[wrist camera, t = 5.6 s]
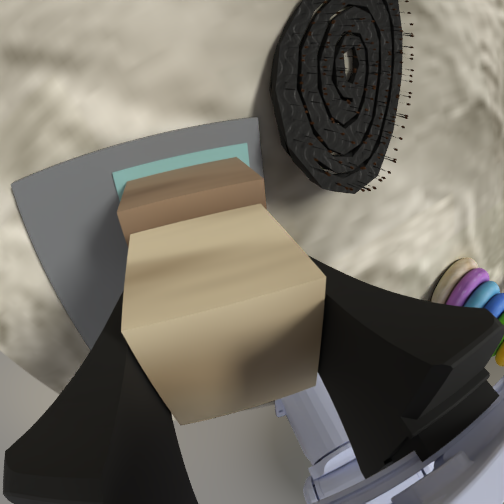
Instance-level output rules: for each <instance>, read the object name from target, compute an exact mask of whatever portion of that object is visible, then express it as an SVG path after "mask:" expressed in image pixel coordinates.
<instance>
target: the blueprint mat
mask: <svg viewBox="0 0 504 504" xmlns="http://www.w3.org/2000/svg"><path fill="white" fill-rule="evenodd" d="M233 157H237V158H239V159H240V160H241V161H242V162H244V163H245V164H246V165H247V166H249V167H250V168H251V169H252V170H254V171H255V172H256V173H257V174H259V175H260V176H261V177H262V178H264V176H263V165H262V154H261V144H260V133H259V123H258V117H249V118H242V119H235V120H228V121H222V122H215V123H210V124H204V125H198V126H193V127H188V128H183V129H178V130H173V131H169V132H164V133H160V134H156V135H152V136H148V137H144V138H140V139H136V140H132V141H128V142H125V143H121V144H117V145H114V146H111V147H107V148H104V149H101V150H97V151H94V152H91V153H88V154H85V155H82V156H79V157H76V158H73V159H70V160H67V161H65V162H62V163H59V164H56V165H54V166H51V167H49V168H46V169H43V170H41V171H38V172H36V173H33V174H31V175H29V176H26V177H24V178H22V179H19V180H17V181H15V182H13V183H12V184H11V187H12V190H13V193H14V196H15V199H16V202H17V205H18V208H19V211H20V213H21V216H22V219H23V221H24V224H25V227H26V229H27V232H28V234H29V236H30V239H31V241H32V244H33V246H34V248H35V250H36V253H37V255H38V257H39V259H40V261H41V264H42V266H43V268H44V270H45V272H46V274H47V276H48V278H49V280H50V282H51V284H52V286H53V288H54V290H55V292H56V293H57V295H58V297H59V299H60V301H61V303H62V304H63V306H64V308H65V310H66V311H67V313H68V315H69V317H70V318H71V320H72V322H73V323H74V325H75V327H76V328H77V330H78V332H79V333H80V335H81V336H82V338H83V339H84V341H85V343H86V344H87V346H88V347H89V349H90V350H91V349H92V348H93V346H94V344H95V342H96V341H97V339H98V337H99V335H100V334H101V332H102V330H103V328H104V326H105V324H106V323H107V321H108V319H109V317H110V315H111V313H112V311H113V309H114V307H115V305H116V303H117V302H118V300H119V298H120V296H121V294H122V292H123V290H124V283H125V273H126V264H127V256H128V246H127V243H126V240H125V237H124V234H123V231H122V228H121V225H120V222H119V218H118V215H117V210H118V207H119V204H120V201H121V198H122V195H123V192H124V189H125V186H126V183H127V181H131V180H134V179H138V178H142V177H146V176H150V175H154V174H158V173H162V172H166V171H170V170H175V169H179V168H183V167H188V166H193V165H197V164H202V163H207V162H212V161H217V160H222V159H228V158H233Z"/></svg>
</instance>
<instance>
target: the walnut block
mask: <svg viewBox="0 0 504 504" xmlns="http://www.w3.org/2000/svg"><path fill="white" fill-rule="evenodd" d="M256 204H262V206H263V207H264V208H265V209H266V210H267V208H266V197H265V186H264V178H262V177H261V176H260V175H259V174H257V173H256V172H255V171H254V170H252V169H251V168H250V167H249V166H247V165H246V164H245V163H244V162H242V161H241V160H240V159H239V158H237V157H233V158H228V159H222V160H217V161H212V162H207V163H202V164H197V165H193V166H188V167H183V168H179V169H175V170H170V171H166V172H162V173H158V174H154V175H150V176H146V177H142V178H138V179H134V180H131V181H127V183H126V186H125V189H124V192H123V195H122V198H121V201H120V204H119V207H118V210H117V215H118V218H119V222H120V225H121V228H122V231H123V234H124V237H125V240H126V243H127V246H128V248H129V241H130V234H134V233H137V232H141V231H145V230H149V229H153V228H157V227H161V226H165V225H169V224H173V223H177V222H181V221H185V220H189V219H194V218H198V217H202V216H206V215H211V214H215V213H219V212H224V211H228V210H233V209H237V208H242V207H247V206H251V205H256Z"/></svg>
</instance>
